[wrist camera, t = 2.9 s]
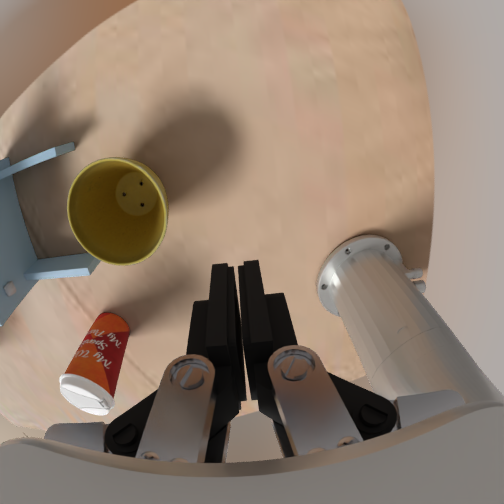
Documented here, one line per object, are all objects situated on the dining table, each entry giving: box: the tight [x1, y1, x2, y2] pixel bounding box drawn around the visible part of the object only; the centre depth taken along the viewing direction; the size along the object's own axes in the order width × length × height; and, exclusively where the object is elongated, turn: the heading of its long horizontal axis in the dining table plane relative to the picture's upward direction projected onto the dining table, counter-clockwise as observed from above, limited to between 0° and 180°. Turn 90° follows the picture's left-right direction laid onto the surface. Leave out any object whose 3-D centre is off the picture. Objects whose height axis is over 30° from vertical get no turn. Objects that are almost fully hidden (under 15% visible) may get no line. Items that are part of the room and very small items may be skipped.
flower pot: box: [67, 157, 168, 266], centre depth 25 cm, size 10×10×7 cm
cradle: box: [0, 142, 101, 326], centre depth 22 cm, size 13×18×12 cm
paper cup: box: [59, 313, 130, 415], centre depth 30 cm, size 8×8×14 cm
